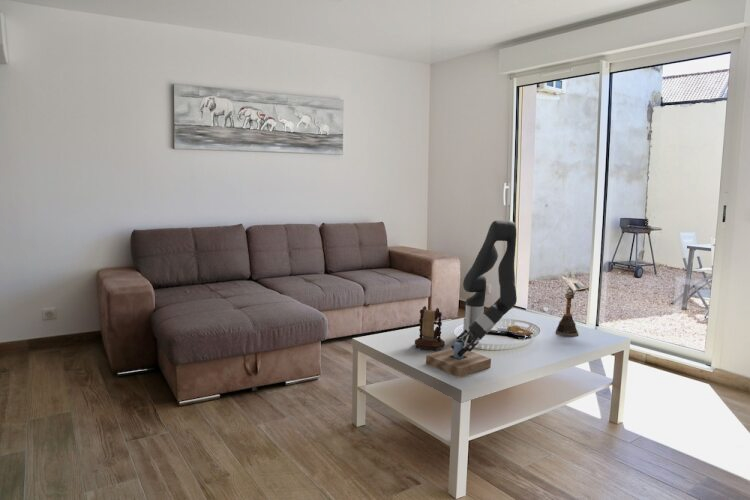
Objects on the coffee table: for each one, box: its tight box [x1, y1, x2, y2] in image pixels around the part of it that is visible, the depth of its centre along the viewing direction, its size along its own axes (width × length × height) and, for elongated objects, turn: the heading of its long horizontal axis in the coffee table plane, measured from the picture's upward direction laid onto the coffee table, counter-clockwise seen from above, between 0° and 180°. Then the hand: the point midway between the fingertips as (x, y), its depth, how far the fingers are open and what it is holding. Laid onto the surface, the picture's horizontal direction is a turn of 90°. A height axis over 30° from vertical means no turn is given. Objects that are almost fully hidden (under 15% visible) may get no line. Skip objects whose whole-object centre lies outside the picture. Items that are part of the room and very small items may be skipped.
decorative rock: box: [506, 325, 534, 337], centre depth 278 cm, size 11×4×15 cm
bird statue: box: [555, 269, 590, 338], centre depth 277 cm, size 17×13×35 cm
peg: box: [453, 341, 465, 360], centre depth 230 cm, size 4×4×10 cm
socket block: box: [425, 348, 492, 378], centre depth 230 cm, size 20×20×4 cm
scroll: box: [414, 305, 446, 352], centre depth 254 cm, size 15×15×20 cm
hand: (455, 352), depth 229 cm, fingers open, 8 cm apart
